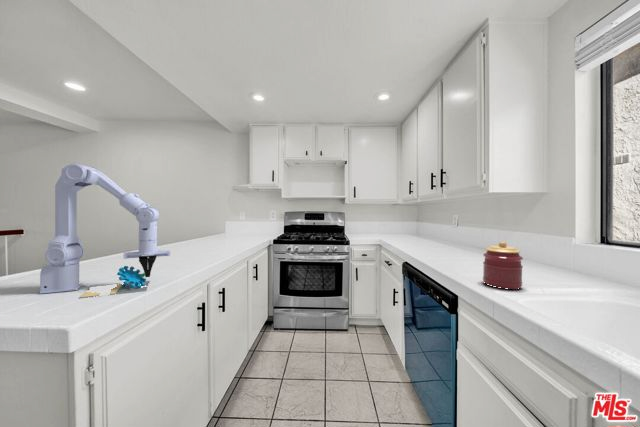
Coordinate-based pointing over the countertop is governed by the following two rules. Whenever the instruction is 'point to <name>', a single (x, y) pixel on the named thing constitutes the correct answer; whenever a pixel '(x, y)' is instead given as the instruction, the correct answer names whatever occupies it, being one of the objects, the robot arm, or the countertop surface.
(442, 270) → the countertop surface
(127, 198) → the robot arm
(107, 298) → the countertop surface
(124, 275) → the gear
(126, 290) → the mat
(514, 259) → the canister
